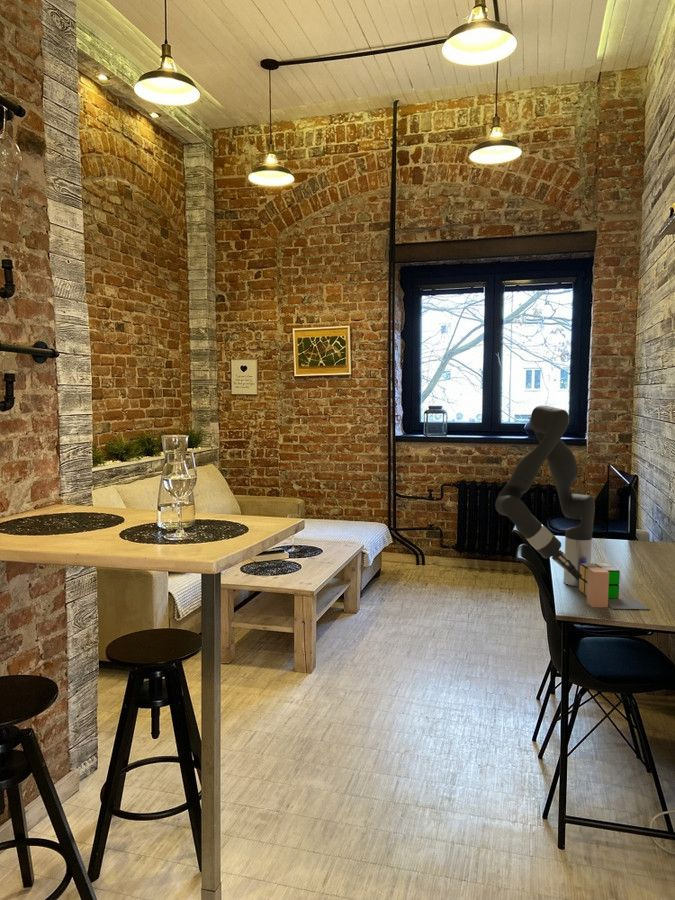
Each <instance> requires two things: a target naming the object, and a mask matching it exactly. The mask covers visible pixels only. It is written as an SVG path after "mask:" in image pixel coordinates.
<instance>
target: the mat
mask: <svg viewBox="0 0 675 900" xmlns="http://www.w3.org/2000/svg"><path fill="white" fill-rule="evenodd" d="M609 606H610V607H611V608H612V609H639V610H638V611H650V610H651V609H650V608H649V607H648V606H646V605H645V604H643V602H641V601H639V600H638V599H637V598H618V599H608V607H609ZM610 607H609V608H610ZM611 608H610V609H611ZM612 609H611V610H612Z"/></svg>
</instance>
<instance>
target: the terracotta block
mask: <svg viewBox="0 0 675 900" xmlns="http://www.w3.org/2000/svg"><path fill="white" fill-rule="evenodd" d="M608 588H609V572H608V571H607V570H605V569H604V568H588V583H587V596H586V604H587V603H588V604H590V605H591V606H592V607H608V608H609V606H608ZM588 604H587V605H588ZM590 605H589V606H590ZM591 606H590V607H591ZM592 607H591V608H592Z"/></svg>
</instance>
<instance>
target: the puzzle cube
mask: <svg viewBox="0 0 675 900" xmlns="http://www.w3.org/2000/svg"><path fill="white" fill-rule="evenodd" d="M588 568H604V569H605V570H607V571H608V572H609V588H608V599H620V597H619V595H620V574H621V572H620V570H619V569H618V568H615V567H614V566H613V565H610V564H609V563H604V562H599V563H597V562H596V563H595V562H594V563H592V562H591V563H581V564H580V574H581V575H582V577H581V578H580V579H579V587H578V591H579V590H580V591H579V592H581V593H582V594H583V593H584V596H586V597H587V583H588Z"/></svg>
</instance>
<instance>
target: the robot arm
mask: <svg viewBox="0 0 675 900" xmlns="http://www.w3.org/2000/svg"><path fill="white" fill-rule="evenodd" d="M569 423H570V415H569V413H568V411H566V409H562V408H558V407H554V406H549V405H537V406H535V407H534V409H533V410H532V412H531V415H530V424H531V427H532V430H533V432H534V435H535V436H536V438H537V440H538V442H539V444H537V445H536V446H535V447H534V448H533V449H532V450H531V451H529V452H528V453H526V454H525V455H524V456H523V457H522V458H521V459H520V460H519V461H518V463H517V464H516V466H515V467H514V470H513V472H512V473H511V475H510V477H509V480H508V482H507V483H506V484H505V485H504V487H502V489H501V491H500V493H499V494H498V496H497V498H496V500H495V507H494V508H495V510H496V512H497V513H498V514H499V515H501V516H505V517H507V518H508V519H510V521H511V522H513V524H514V525H515V528H516V530H518V532H519V533H520V534H521V536H523V537H524V538H525V539H526V540H527V542H528V544H530V545H531V546H532V547H533V548H534V549H535V551H536V552H538V553H539V555H541V556H542V558H544V559H550V558H551V559H552V560H553V562H555V563H556V564H557V565H559V566H560V567H561V568H562V569H563V583H564V584H566V585H567V584H568V586H572V587H577V588H579V579H580V578H581V577H582V575H581V574H580V564H581V563H592V551H593V550H592V547H593V544H592V543H593V532H594V522H595V521H594V520H595V512H596V502H595V498H594V497H593V496H592V495H588V494H581V493H580V494H579V493H574V492H572V490H571V487H572V486H573V484H574V482H575V481H576V479H577V477H578V475H579V474H578V473H579V467H578V466H579V465H578V464H577V460H576V456H575V455H574V453H573V450H571V449H570V447H569V446H567V444H566V443H565V442H564V441H563V440H562V437H563V436H564V434H566V433H565V432H566V431H567V429H568V427H569ZM545 461H546V462H547V465H548V469H549V472H550V474H551V475H552V476H551V477H552V479H553V481H554V485H555V489H556V491H557V495H558V496H557V497H558V499H559V504H560V509H561V512H562V514H563V516H564V517H565V518H568V519H572V520H578V521H579V520H580V524H579V525H577V526H573V527H568V528H567V529H565V534H564V535H565V538H564V552H563V551H562V550H560V549H561V548H562V542H561V541H560V539H558V538H557V537H556V535H554V533H553V532H551V531H550V529H548V527H546V526H545V525H543V524H542V522H541V521H539V520H538V519H537V518H536V516H535V515H533V514H532V512H531V511H530V509H529V508H528V506H527V505H526V504H525V503H524V501H523V500H521V498H522V496H523V495H524V494H525V493H527V492H528V491H529V490H530V489H531V486H532V484H533V482H534V481H535V479H536V477H537V475H538V473H539V471H540V468H541V467H543V466H542V465H544V462H545Z"/></svg>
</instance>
